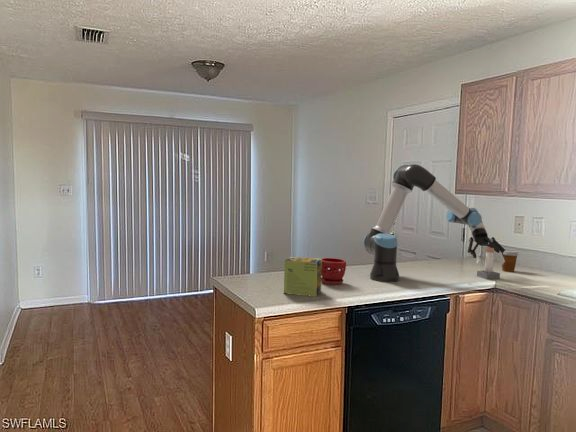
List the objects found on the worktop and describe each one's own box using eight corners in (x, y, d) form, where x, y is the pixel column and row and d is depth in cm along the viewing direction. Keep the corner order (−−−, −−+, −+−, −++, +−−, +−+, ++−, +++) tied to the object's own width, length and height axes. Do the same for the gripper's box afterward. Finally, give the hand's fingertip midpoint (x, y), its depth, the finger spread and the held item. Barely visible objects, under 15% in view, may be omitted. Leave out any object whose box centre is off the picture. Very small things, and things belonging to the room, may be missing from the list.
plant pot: (335, 287, 213) (336, 263, 212) (314, 283, 222) (314, 259, 221) (350, 283, 223) (351, 259, 222) (329, 279, 232) (329, 256, 231)
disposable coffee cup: (501, 272, 259) (502, 251, 258) (497, 268, 268) (498, 249, 267) (519, 273, 257) (520, 252, 256) (514, 270, 266) (516, 250, 265)
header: (486, 281, 233) (487, 273, 233) (476, 277, 241) (477, 270, 241) (499, 280, 235) (500, 273, 235) (489, 277, 243) (489, 270, 243)
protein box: (316, 297, 195) (317, 262, 194) (283, 294, 199) (284, 260, 198) (321, 291, 205) (322, 258, 204) (289, 288, 209) (290, 256, 208)
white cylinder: (487, 278, 236) (489, 248, 234) (482, 276, 240) (484, 247, 238) (493, 278, 237) (495, 248, 235) (488, 276, 241) (490, 247, 239)
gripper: (497, 235, 253) (510, 266, 239) (454, 235, 251) (465, 266, 238) (502, 227, 247) (516, 258, 234) (459, 227, 246) (471, 258, 232)
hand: (491, 262), depth 236 cm, fingers open, 13 cm apart
